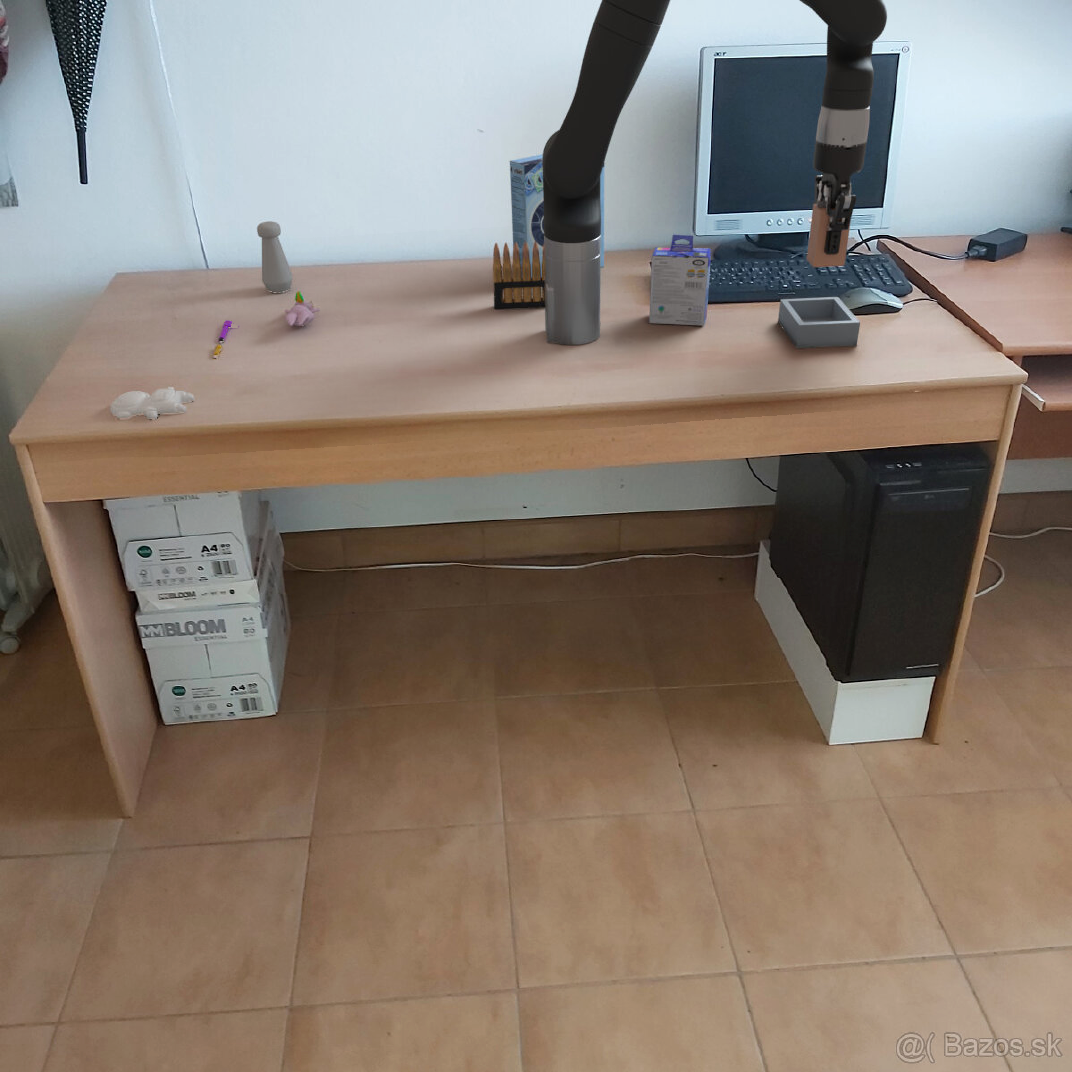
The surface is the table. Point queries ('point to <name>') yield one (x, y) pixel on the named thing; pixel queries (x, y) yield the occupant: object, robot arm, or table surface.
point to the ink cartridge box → (679, 283)
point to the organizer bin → (818, 322)
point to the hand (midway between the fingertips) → (826, 248)
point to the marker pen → (222, 336)
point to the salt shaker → (273, 258)
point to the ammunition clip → (518, 279)
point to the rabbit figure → (300, 312)
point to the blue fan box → (535, 205)
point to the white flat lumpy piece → (150, 403)
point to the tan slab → (818, 238)
